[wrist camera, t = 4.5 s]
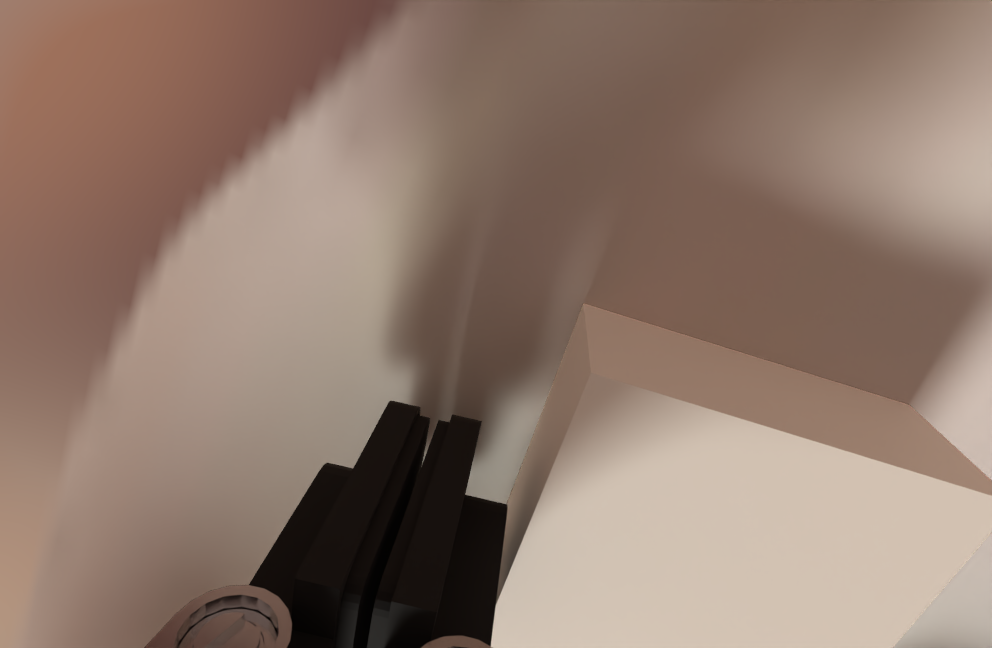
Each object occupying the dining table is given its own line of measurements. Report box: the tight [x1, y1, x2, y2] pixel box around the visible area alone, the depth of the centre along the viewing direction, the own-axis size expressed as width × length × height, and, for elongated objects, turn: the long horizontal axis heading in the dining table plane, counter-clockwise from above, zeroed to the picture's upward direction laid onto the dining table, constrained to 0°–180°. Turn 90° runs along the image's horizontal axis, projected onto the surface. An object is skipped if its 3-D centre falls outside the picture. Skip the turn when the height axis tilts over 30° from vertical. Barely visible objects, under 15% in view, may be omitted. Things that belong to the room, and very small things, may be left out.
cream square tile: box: [491, 303, 992, 648], centre depth 10 cm, size 6×6×3 cm
